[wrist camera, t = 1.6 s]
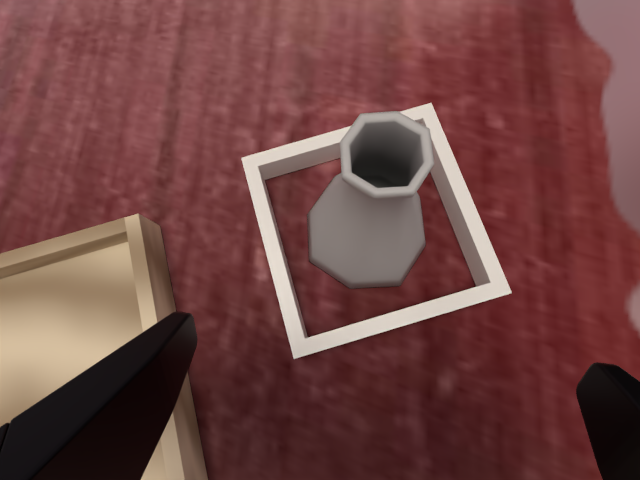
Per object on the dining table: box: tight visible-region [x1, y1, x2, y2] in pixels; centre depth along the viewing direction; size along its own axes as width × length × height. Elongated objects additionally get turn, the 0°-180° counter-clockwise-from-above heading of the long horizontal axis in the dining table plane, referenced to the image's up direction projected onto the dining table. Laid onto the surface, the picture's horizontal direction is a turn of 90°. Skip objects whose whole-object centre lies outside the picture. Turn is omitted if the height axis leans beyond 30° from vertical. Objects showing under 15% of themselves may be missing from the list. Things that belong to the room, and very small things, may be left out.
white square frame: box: [241, 103, 512, 359], centre depth 21 cm, size 12×12×2 cm
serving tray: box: [0, 214, 208, 480], centre depth 18 cm, size 20×14×2 cm
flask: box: [307, 111, 434, 288], centre depth 17 cm, size 7×7×10 cm
